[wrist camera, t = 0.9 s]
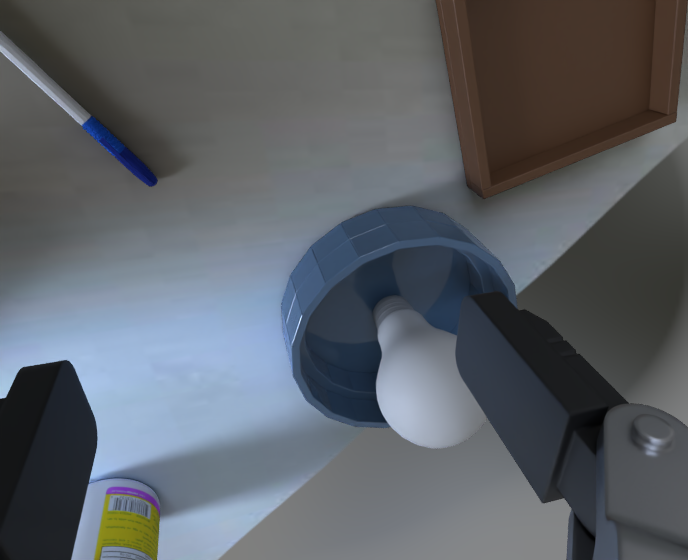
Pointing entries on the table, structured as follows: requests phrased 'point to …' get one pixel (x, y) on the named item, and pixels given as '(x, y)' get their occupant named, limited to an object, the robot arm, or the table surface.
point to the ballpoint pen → (76, 111)
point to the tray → (557, 80)
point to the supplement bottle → (118, 522)
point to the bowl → (376, 299)
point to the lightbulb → (421, 379)
